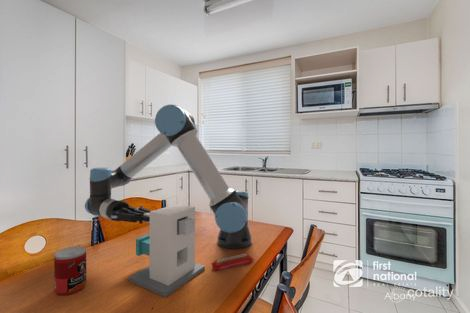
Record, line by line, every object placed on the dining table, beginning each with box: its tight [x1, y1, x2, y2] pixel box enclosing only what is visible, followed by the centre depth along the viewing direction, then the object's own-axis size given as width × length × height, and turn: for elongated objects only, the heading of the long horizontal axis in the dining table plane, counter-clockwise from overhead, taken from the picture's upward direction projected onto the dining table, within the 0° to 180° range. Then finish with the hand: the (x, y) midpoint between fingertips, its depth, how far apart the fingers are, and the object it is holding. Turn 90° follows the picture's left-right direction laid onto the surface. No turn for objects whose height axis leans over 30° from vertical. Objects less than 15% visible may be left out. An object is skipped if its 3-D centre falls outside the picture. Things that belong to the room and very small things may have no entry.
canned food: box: [53, 245, 87, 296], centre depth 70 cm, size 8×8×11 cm
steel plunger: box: [177, 217, 196, 235], centre depth 76 cm, size 14×6×6 cm, turn 60°
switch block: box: [128, 203, 206, 298], centre depth 78 cm, size 16×18×22 cm
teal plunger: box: [135, 233, 150, 257], centre depth 81 cm, size 14×6×6 cm, turn 60°
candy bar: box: [210, 253, 254, 271], centre depth 85 cm, size 16×4×3 cm, turn 117°
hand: (158, 220), depth 80 cm, fingers closed
